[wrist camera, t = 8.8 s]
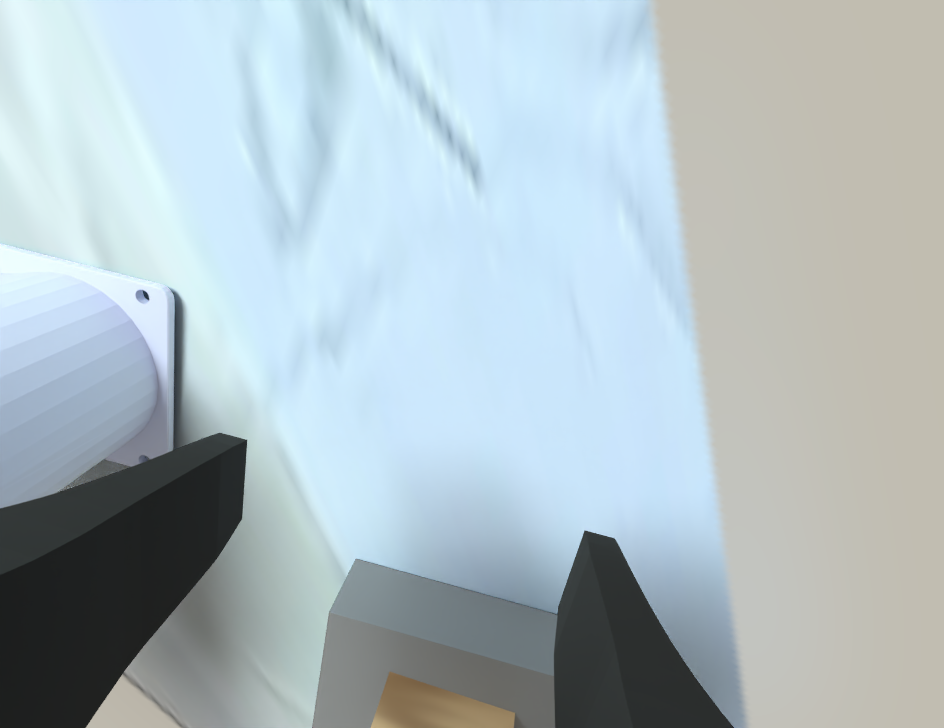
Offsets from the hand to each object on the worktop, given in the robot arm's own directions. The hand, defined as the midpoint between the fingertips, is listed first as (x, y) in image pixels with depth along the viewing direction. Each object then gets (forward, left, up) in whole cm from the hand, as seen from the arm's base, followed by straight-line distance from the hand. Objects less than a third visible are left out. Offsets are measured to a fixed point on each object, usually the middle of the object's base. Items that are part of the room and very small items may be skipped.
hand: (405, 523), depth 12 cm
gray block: (+2, -15, -9) cm, 18 cm away
